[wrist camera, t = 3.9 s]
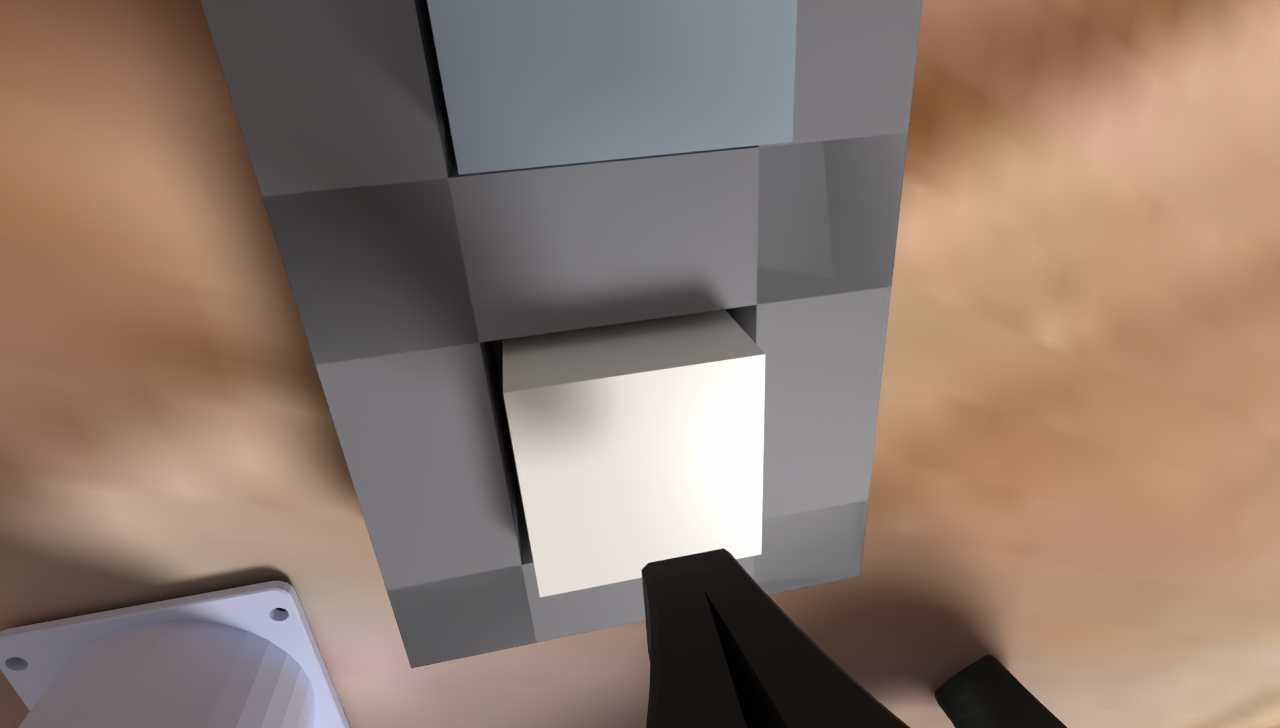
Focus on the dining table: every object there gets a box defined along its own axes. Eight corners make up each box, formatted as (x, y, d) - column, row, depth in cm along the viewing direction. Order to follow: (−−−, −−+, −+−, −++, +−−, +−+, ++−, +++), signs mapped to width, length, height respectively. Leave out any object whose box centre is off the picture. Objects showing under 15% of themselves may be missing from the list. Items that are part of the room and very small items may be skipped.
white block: (710, 458, 18) (761, 554, 15) (531, 488, 17) (539, 597, 14) (706, 289, 16) (765, 354, 12) (502, 315, 15) (503, 392, 12)
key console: (793, 481, 22) (860, 576, 18) (428, 547, 20) (411, 668, 16) (830, -325, 13) (975, -494, 9) (192, -334, 11) (27, -547, 7)
